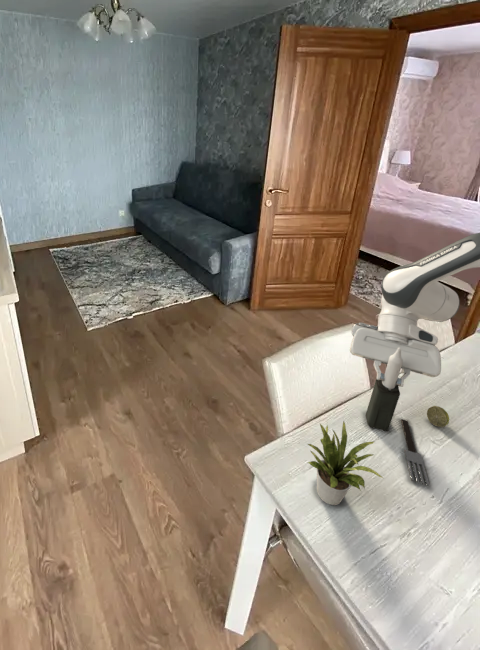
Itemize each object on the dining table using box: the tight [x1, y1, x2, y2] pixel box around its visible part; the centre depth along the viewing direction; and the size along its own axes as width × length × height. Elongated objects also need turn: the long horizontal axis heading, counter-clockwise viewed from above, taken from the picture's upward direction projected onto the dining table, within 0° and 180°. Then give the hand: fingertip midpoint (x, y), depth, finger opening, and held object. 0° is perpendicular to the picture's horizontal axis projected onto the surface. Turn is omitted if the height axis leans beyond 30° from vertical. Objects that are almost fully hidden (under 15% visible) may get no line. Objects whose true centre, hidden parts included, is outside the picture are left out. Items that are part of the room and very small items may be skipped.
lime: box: [426, 405, 450, 428], centre depth 93 cm, size 4×5×5 cm
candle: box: [365, 348, 403, 432], centre depth 89 cm, size 5×5×25 cm
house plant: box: [306, 420, 385, 506], centre depth 73 cm, size 14×14×16 cm
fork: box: [400, 419, 430, 487], centre depth 86 cm, size 4×18×1 cm, turn 158°
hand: (389, 383), depth 88 cm, fingers closed on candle, 3 cm apart
